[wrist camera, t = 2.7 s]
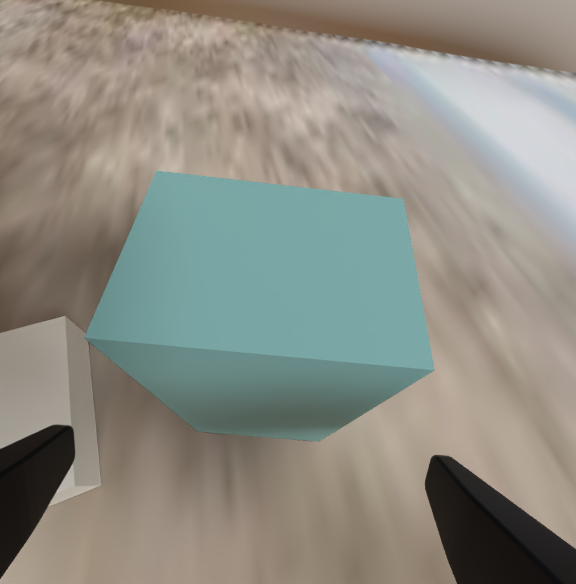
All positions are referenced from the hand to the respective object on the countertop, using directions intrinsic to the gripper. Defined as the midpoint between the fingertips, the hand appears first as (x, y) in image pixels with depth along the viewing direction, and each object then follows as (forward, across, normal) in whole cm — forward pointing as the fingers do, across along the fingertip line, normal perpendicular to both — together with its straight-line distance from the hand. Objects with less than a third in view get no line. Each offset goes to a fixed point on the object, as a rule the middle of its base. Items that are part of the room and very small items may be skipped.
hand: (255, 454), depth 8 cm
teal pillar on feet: (+8, 0, +4) cm, 9 cm away
